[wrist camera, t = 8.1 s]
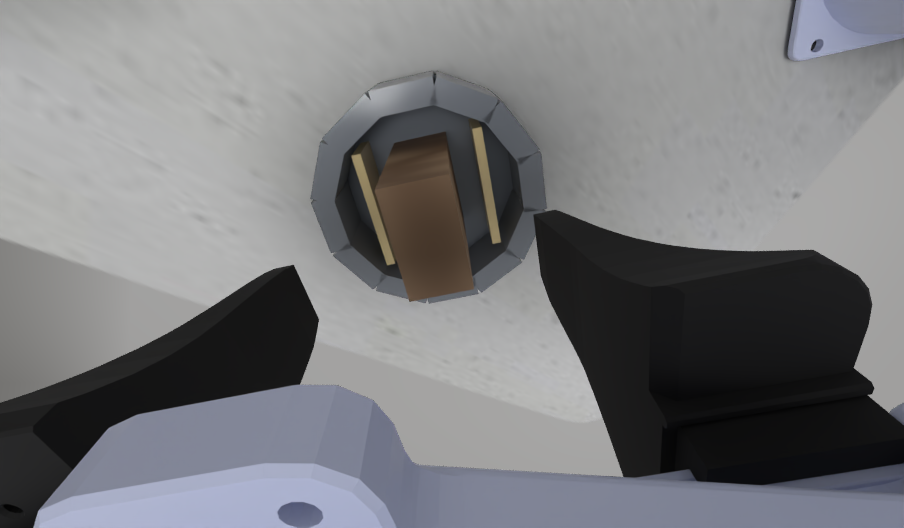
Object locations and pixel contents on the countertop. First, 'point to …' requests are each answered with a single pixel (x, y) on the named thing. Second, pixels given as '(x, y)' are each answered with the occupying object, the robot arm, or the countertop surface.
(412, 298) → the tall cardboard-brown brick
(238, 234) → the countertop surface
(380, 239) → the grey segmented round container
